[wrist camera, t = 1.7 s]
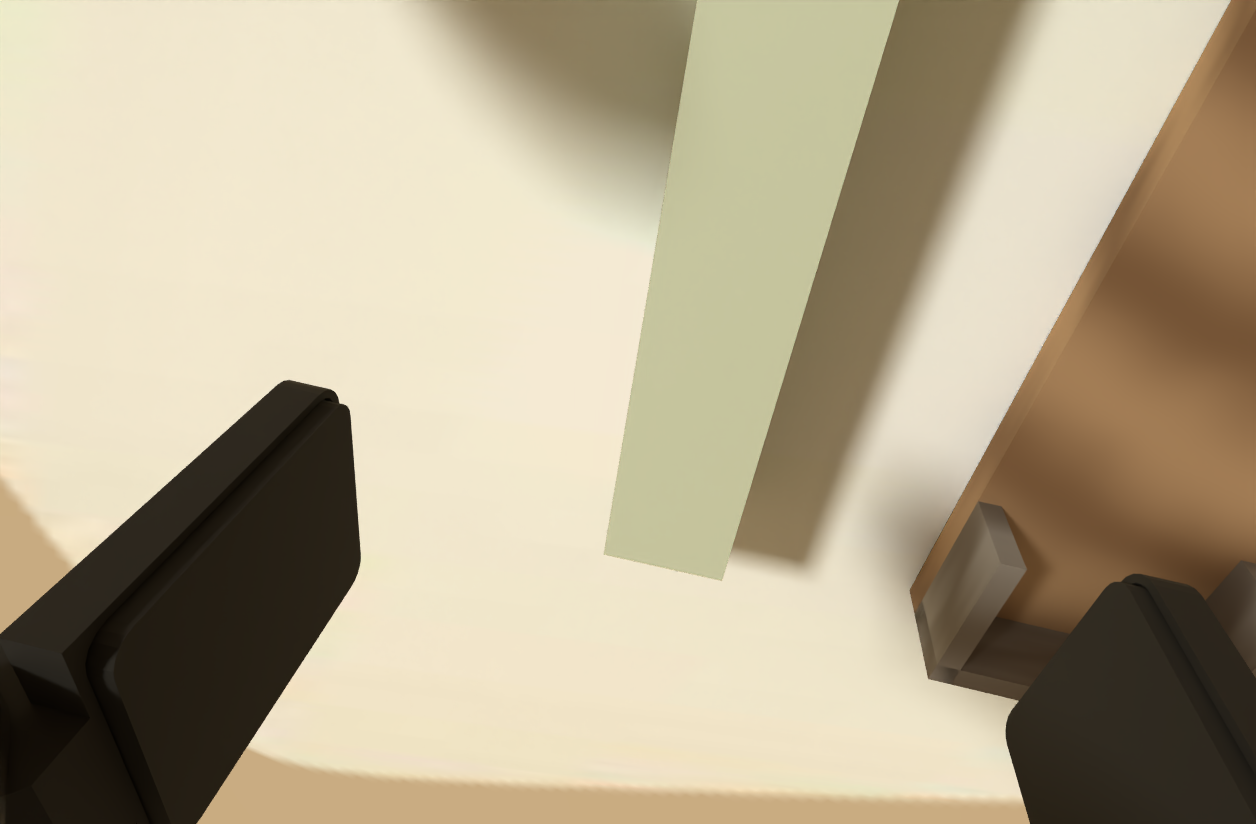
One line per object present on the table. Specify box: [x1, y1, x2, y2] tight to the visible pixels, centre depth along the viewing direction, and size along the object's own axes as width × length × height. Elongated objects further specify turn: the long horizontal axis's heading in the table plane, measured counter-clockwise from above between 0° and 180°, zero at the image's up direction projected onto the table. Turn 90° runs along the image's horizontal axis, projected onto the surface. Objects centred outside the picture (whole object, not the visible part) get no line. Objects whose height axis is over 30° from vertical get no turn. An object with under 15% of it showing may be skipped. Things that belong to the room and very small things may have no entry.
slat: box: [604, 0, 899, 581], centre depth 20 cm, size 22×4×5 cm, turn 172°
